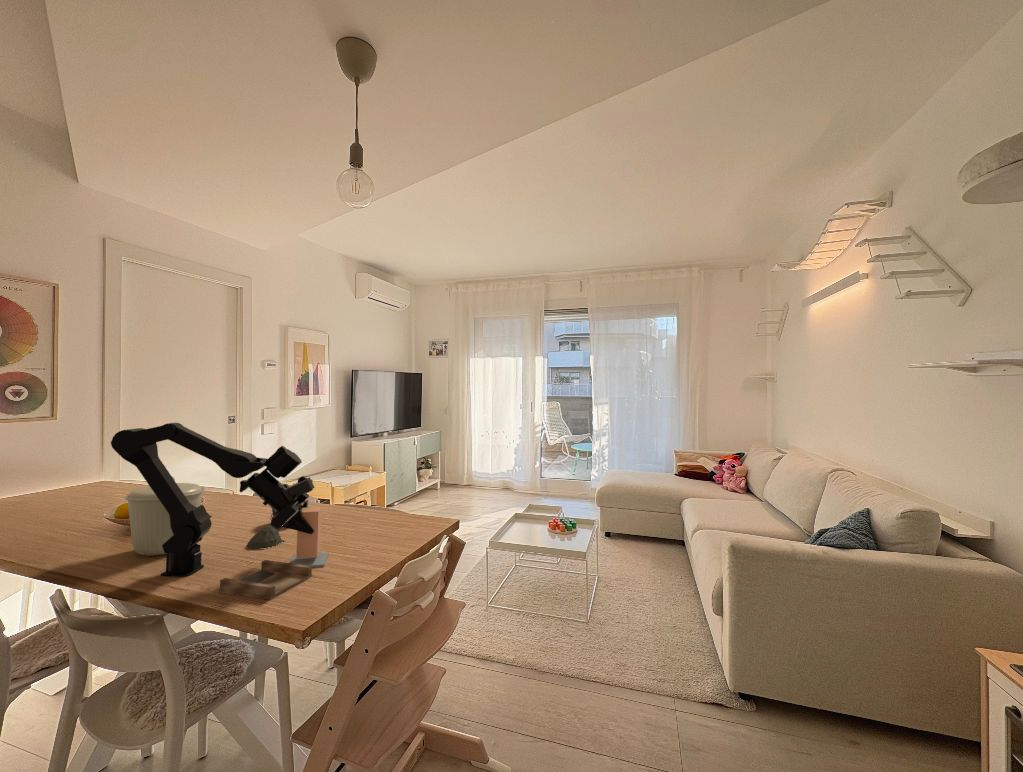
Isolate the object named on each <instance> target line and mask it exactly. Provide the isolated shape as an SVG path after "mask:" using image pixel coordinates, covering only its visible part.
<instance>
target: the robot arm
mask: <svg viewBox="0 0 1023 772" xmlns="http://www.w3.org/2000/svg"><path fill="white" fill-rule="evenodd" d="M164 441H171V442H172V443H175V444H177V445H179V446H181V447H183V448H185V449H187V450H189V451H191V452H194V453H196V454H198V455H200V456H202V457H204V458H206V459H208V460H210V461H212V462H213V463H215V464H216V465H217V466H218V467H219V468H220V469H221V470H222V471H224V472H225V473H226V474H227V475H229V476H230V477H232V478H234V479H235V478H236V479H241V478H245V477H247V476H248V475H251V474H252V473H253V472H254V473H253V474H252V475H251V476H249V477H248V478H247V479H243V480H241V481H240V482H239V485H240V486H239V492H240V493H243V492H244V491H246V490H248V489H250V490H251V491H253V493H255V494H256V495H257V496H258V497H259V498H260V499H262V501H263V502H262V504H263V505H264V506H267V505H268V507H270V508H271V509H272V508H273V509H274V510H275V511H276V513H275V516H274V517H273V516H272V517H273V518H271V520H270V524H271V526H273V527H274V528H275V529H276V530H277V531H278V530H279V529H280V528H285V529H288V530H294V531H296V532H297V531H301V532H304V533H308V534H312V533H313V532H314V530H313V528H312V527H311V526H310V524H309V523H308V522H307V521H306V519H305V518H304V517H303V516H302V508H308V507H309V497H310V495H309V494H308V493H310V492H312V491H313V490H314V489H315V485H314V483H313V481H314V480H313V479H312V478H311V477H307V476H306V475H302V476H300V477H298V478H297V482H296V483H294V484H292V485H289V484H287V483H281V482H280V480H278V479H279V478H283V479H285V478H286V477H287V476H288V475H290V474H291V473H292V472H293V471H294V470H295V469H297V467H298V466H300V465H301V464H302V459H301V458H300V457H299V455H298V454H297V453H295V452H293V451H292V450H291V449H288V448H286V446H284V445H281V446H279V447H278V449H276V450H275V452H274V453H273V454H272V455H270V456H269V458H268V457H267V458H264V457H257V456H256V455H255V454H254V453H250V452H248V451H244V450H242V449H241V450H240V449H236V448H230V447H228V446H225V445H223V444H220V443H219V442H216V441H215V440H212V439H211V438H208V437H206V436H204V435H203V434H200V433H198V432H196V431H194V430H192V429H190V428H187V427H186V426H184V425H183V424H182V423H180V422H169V423H168V422H167V423H165V424H163V425H159V426H155V427H154V426H153V427H150V428H143V427H142V428H141V427H140V428H139V427H138V428H128V429H122V430H119V431H118V432H116V433H115V434H114V435H113V436H112V439H111V441H110V446H111V448H112V449H113V450H114V451H115V452H116V454H118V455H119V456H120V457H121V458H122V459H123V460H125V461H126V462H129V464H131V465H133V466H135V467H136V468H137V470H138V471H139V473H140V474H141V476H142V478H143V479H144V480H145V481H146V483H147V485H148V486H150V487H151V489H152V490H153V492H154V493H155V495H156V496H157V498H158V499H159V500H160V502H161V503H162V505H163V506H164V508H165V509H166V511H167V512H168V514H169V517H170V527H171V530H172V532H173V534H174V535H173V536H172V537H171V538H170V539H169V540H167V541H166V542H165V543H164V544H163V545H162V547H163V550H164V552H165V553H167V554H165V557H166V559H165V561H166V562H165V571H163V572H161V573H160V577H188V576H189V575H191V574H193V573H196V571H199V570H201V569H202V568H204V567H205V564H202V556H203V555H202V551H201V544H198V543H199V542H202V540H203V537H204V536H205V535H207V534H208V533H209V531H210V530H211V527H212V520H211V518H212V517H213V516H212V515H210V514H209V513H208V512H207V510H206V507H205V506H204V505H203V504H201V505H200V506H199V507H195V506H194V505H192V504H190V503H189V501H188V500H187V498H186V497H185V495H184V494H183V492H182V491H181V489H180V488H179V487H178V485H177V484H176V483H177V482H176V480H175V481H174V479H173V478H172V477H173V476H172V475H171V473H170V472H169V471H168V469H167V467H166V466H165V465H164V463H163V462H162V460H161V458H160V456H159V453H158V452H159V451H158V444H157V443H160V442H164ZM264 467H266V468H265V469H263V468H264ZM262 469H263V470H262ZM260 470H262V471H261V472H257V471H260ZM305 500H306V502H305V503H303V502H304V501H305ZM284 523H285V524H284ZM282 525H283V526H282Z"/></svg>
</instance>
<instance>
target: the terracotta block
mask: <svg viewBox="0 0 1023 772" xmlns="http://www.w3.org/2000/svg"><path fill="white" fill-rule="evenodd" d="M302 516H303V517H304V518H305V519H306V521H307V522H308V523H309V524H310V526H311V527H312V528H313V530H314V532H313V533H312V534H308V533H304V532H301V531H297V530H296V554H295V555H296V558H310V557H317V556H318V554H319V553H321V536H322V535H321V531H322V529H321V528H322V506H315V507H314V506H311V507H309V506H308V508H302Z"/></svg>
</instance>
